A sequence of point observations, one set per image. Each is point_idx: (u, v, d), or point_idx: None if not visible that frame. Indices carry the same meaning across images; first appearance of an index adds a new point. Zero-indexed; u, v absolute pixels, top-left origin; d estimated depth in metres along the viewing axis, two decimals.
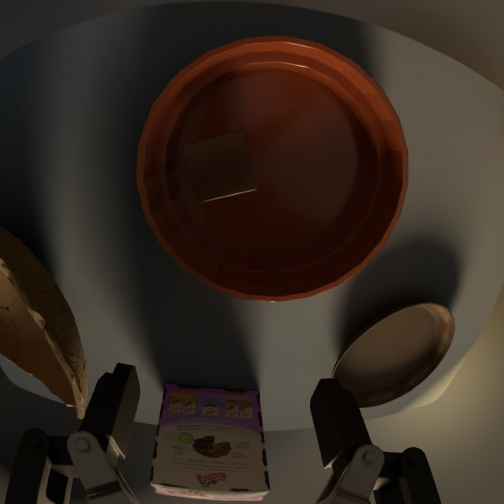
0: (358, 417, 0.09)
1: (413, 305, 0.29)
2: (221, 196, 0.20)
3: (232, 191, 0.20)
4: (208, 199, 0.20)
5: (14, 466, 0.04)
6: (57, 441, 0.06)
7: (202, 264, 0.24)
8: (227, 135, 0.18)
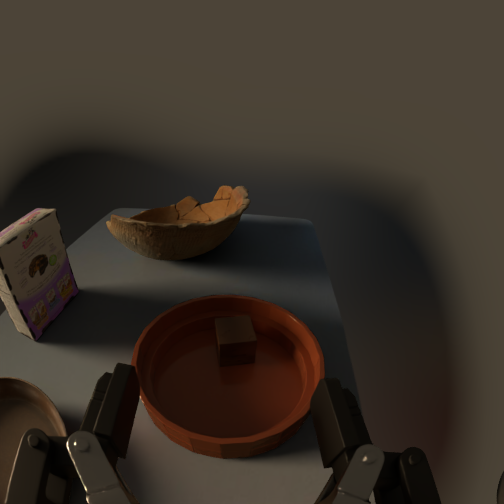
0: (358, 417, 0.09)
1: None
2: (217, 328, 0.33)
3: (219, 333, 0.32)
4: (216, 322, 0.34)
5: (14, 466, 0.04)
6: (58, 441, 0.06)
7: (172, 321, 0.35)
8: (254, 333, 0.32)
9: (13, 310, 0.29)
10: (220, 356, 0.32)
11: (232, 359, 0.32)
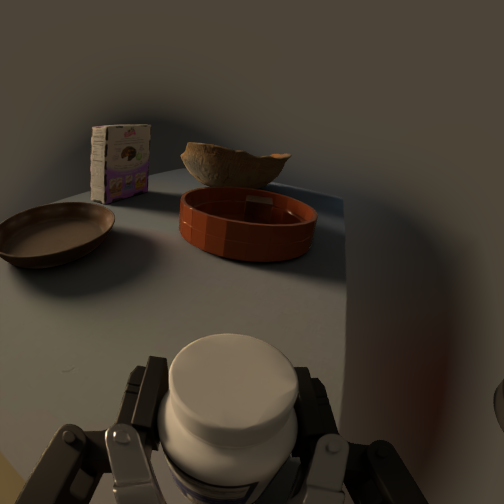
0: (326, 407, 0.10)
1: (101, 234, 0.31)
2: (247, 197, 0.47)
3: (247, 198, 0.47)
4: (247, 195, 0.48)
5: (41, 457, 0.05)
6: (93, 436, 0.07)
7: (216, 196, 0.51)
8: (271, 202, 0.46)
9: (97, 176, 0.50)
10: (244, 214, 0.46)
11: (252, 219, 0.46)
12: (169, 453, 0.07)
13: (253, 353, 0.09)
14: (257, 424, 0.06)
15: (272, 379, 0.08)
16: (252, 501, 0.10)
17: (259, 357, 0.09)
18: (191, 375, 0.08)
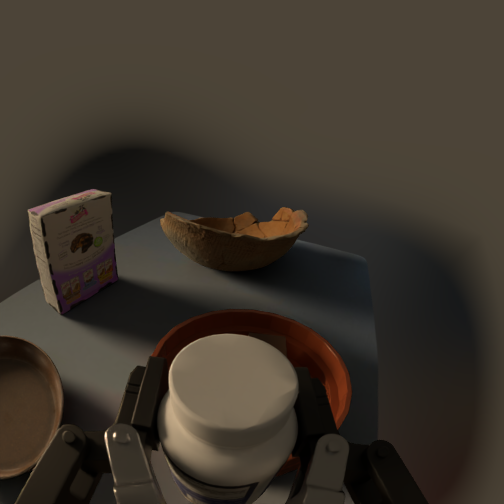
0: (326, 407, 0.10)
1: None
2: None
3: None
4: None
5: (41, 457, 0.05)
6: (92, 436, 0.07)
7: (205, 326, 0.34)
8: (286, 355, 0.30)
9: (45, 279, 0.33)
10: None
11: None
12: (169, 453, 0.07)
13: (253, 353, 0.09)
14: (257, 424, 0.06)
15: (272, 379, 0.08)
16: (252, 501, 0.09)
17: (259, 357, 0.09)
18: (191, 375, 0.08)
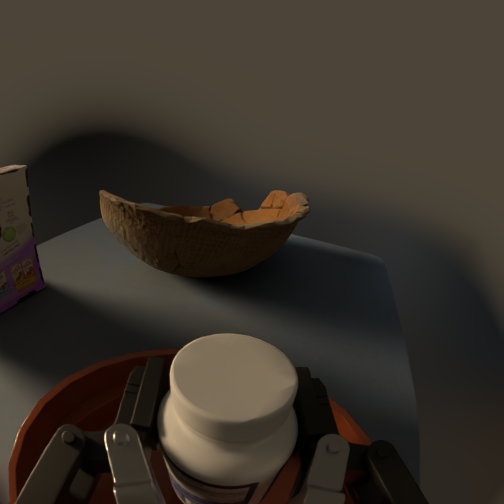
0: (326, 407, 0.10)
1: None
2: None
3: None
4: None
5: (41, 457, 0.05)
6: (92, 435, 0.07)
7: (126, 376, 0.17)
8: None
9: None
10: None
11: None
12: (168, 452, 0.07)
13: (253, 351, 0.09)
14: (257, 417, 0.06)
15: (272, 375, 0.08)
16: None
17: (259, 355, 0.09)
18: (192, 370, 0.08)
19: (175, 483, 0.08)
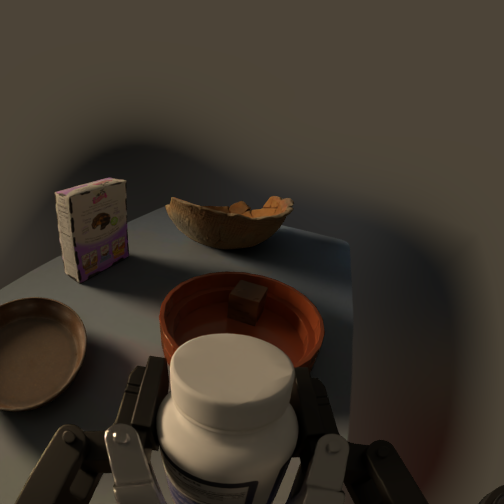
0: (326, 407, 0.10)
1: (74, 375, 0.23)
2: (237, 285, 0.42)
3: (236, 288, 0.41)
4: (239, 282, 0.43)
5: (41, 457, 0.05)
6: (92, 436, 0.07)
7: (205, 285, 0.43)
8: (261, 297, 0.40)
9: (68, 252, 0.42)
10: (229, 306, 0.41)
11: (237, 313, 0.41)
12: (165, 447, 0.07)
13: (251, 348, 0.09)
14: (253, 400, 0.07)
15: (269, 366, 0.08)
16: None
17: (257, 350, 0.09)
18: (192, 361, 0.08)
19: (173, 489, 0.08)
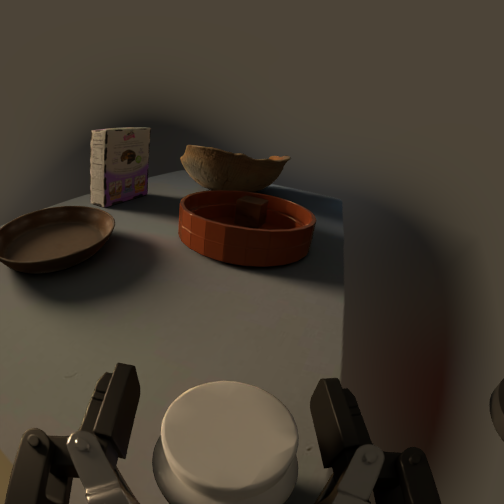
0: (358, 417, 0.09)
1: (102, 239, 0.32)
2: (242, 197, 0.50)
3: (242, 198, 0.49)
4: (244, 196, 0.51)
5: (14, 466, 0.04)
6: (58, 441, 0.06)
7: (216, 199, 0.51)
8: (262, 203, 0.48)
9: (97, 180, 0.50)
10: (236, 212, 0.49)
11: (243, 218, 0.49)
12: (164, 495, 0.06)
13: (252, 405, 0.08)
14: (252, 484, 0.05)
15: (271, 435, 0.07)
16: None
17: (258, 409, 0.07)
18: (184, 429, 0.06)
19: None
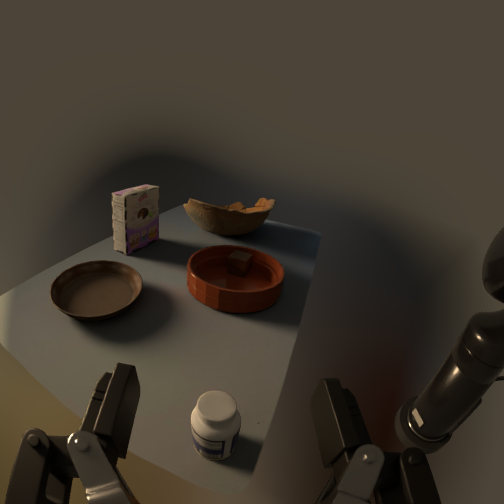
0: (358, 417, 0.09)
1: (136, 296, 0.49)
2: (233, 252, 0.68)
3: (232, 253, 0.67)
4: (234, 251, 0.69)
5: (14, 466, 0.04)
6: (57, 440, 0.06)
7: (213, 253, 0.69)
8: (247, 259, 0.66)
9: (119, 233, 0.68)
10: (228, 265, 0.66)
11: (233, 269, 0.66)
12: (195, 429, 0.24)
13: (223, 398, 0.25)
14: (221, 420, 0.23)
15: (228, 407, 0.24)
16: (226, 455, 0.26)
17: (225, 399, 0.25)
18: (203, 405, 0.24)
19: (196, 442, 0.25)
